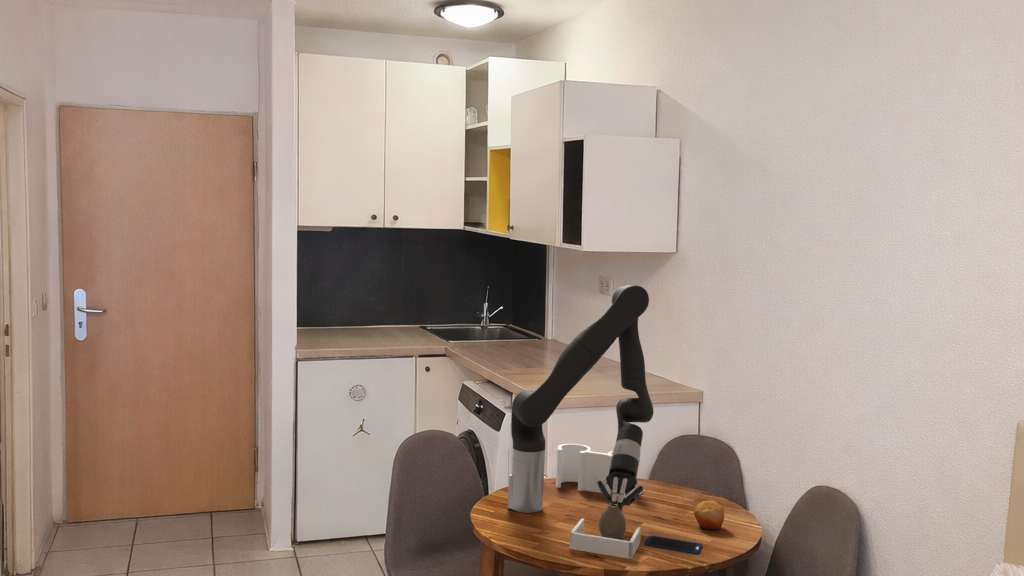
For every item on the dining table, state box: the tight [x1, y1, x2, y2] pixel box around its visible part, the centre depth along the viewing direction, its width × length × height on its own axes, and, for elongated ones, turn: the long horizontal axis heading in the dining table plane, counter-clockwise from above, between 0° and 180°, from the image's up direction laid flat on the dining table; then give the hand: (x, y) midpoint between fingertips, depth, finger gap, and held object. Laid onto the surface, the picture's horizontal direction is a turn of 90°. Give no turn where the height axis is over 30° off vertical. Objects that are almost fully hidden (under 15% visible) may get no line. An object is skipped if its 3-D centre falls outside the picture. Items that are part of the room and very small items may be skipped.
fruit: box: [693, 500, 725, 530], centre depth 225 cm, size 8×8×8 cm
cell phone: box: [643, 535, 703, 556], centre depth 210 cm, size 7×14×1 cm, turn 69°
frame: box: [568, 518, 642, 560], centre depth 207 cm, size 16×12×4 cm
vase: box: [598, 503, 627, 540], centre depth 213 cm, size 7×7×9 cm
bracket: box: [555, 443, 634, 497], centre depth 255 cm, size 25×10×12 cm, turn 69°
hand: (614, 517), depth 216 cm, fingers closed
